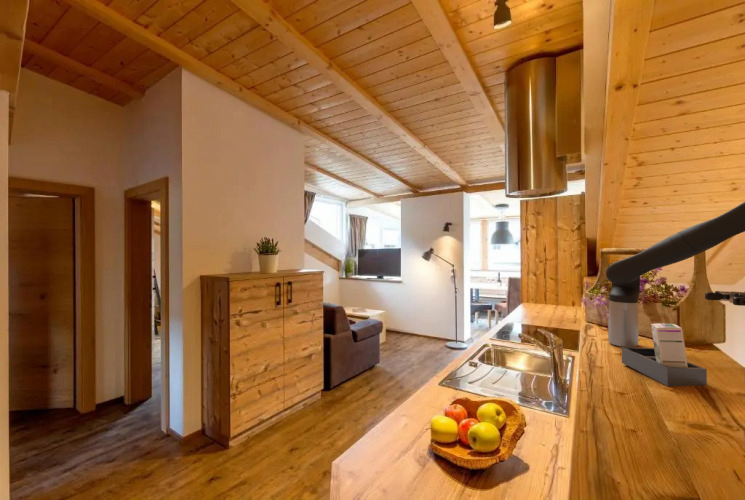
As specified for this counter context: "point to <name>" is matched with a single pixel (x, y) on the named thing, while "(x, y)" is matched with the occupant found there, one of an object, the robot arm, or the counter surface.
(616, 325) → the robot arm
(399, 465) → the counter surface
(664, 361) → the syrup box
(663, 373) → the caddy
